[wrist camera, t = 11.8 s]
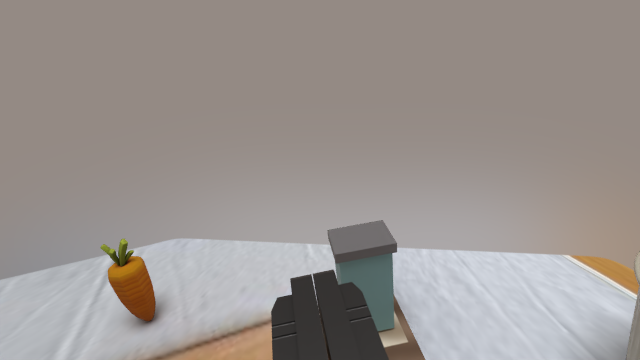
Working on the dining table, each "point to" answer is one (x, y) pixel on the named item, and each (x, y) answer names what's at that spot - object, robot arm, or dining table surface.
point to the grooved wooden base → (400, 339)
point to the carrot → (131, 282)
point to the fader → (367, 266)
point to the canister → (635, 320)
